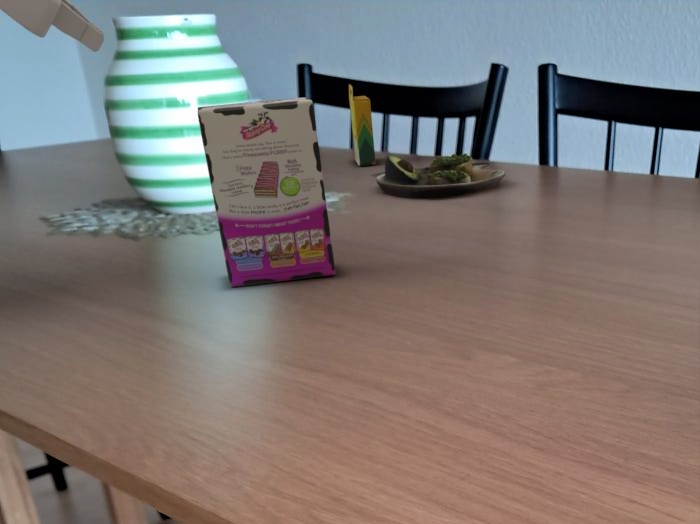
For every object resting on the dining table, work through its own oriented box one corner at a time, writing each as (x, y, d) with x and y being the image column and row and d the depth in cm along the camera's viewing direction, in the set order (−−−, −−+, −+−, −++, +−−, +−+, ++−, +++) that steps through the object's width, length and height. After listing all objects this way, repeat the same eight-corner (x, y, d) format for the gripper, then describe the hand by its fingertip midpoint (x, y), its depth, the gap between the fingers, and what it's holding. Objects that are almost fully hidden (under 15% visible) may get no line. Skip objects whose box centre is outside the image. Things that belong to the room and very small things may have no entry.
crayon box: (376, 165, 168) (369, 85, 161) (358, 166, 167) (350, 87, 161) (372, 159, 174) (364, 82, 167) (354, 160, 173) (347, 83, 167)
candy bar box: (330, 265, 110) (309, 95, 101) (336, 276, 106) (315, 100, 97) (226, 276, 108) (195, 104, 99) (228, 288, 104) (196, 109, 95)
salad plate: (453, 171, 159) (451, 138, 157) (535, 180, 148) (534, 146, 146) (356, 190, 148) (352, 156, 146) (437, 202, 137) (434, 165, 135)
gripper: (-39, -94, 82) (120, 30, 90) (-20, -106, 97) (115, 0, 105) (-74, -22, 84) (84, 92, 92) (-49, -45, 99) (84, 55, 107)
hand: (101, 43), depth 99 cm, fingers closed
